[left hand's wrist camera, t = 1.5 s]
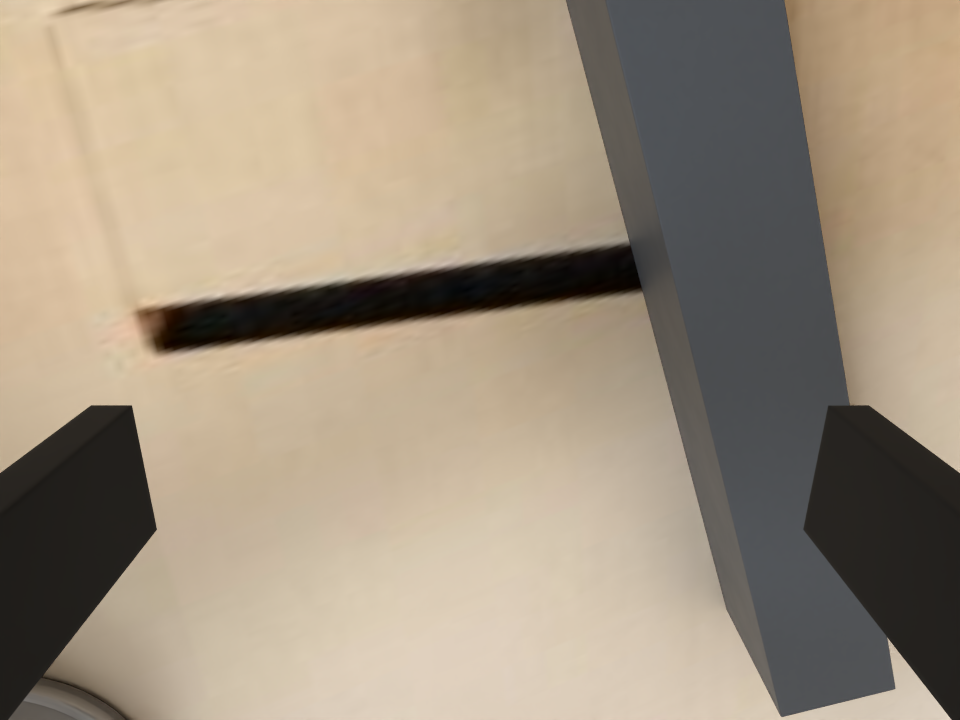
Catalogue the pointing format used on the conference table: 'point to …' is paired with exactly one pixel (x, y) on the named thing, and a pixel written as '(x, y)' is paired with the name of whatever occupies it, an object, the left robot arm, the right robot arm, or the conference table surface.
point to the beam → (737, 311)
